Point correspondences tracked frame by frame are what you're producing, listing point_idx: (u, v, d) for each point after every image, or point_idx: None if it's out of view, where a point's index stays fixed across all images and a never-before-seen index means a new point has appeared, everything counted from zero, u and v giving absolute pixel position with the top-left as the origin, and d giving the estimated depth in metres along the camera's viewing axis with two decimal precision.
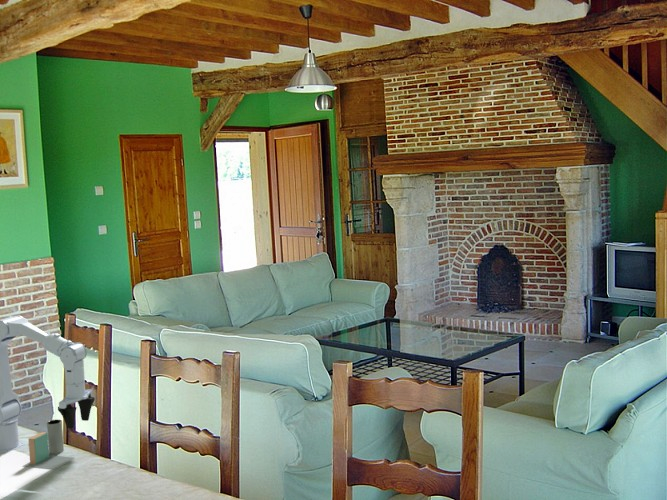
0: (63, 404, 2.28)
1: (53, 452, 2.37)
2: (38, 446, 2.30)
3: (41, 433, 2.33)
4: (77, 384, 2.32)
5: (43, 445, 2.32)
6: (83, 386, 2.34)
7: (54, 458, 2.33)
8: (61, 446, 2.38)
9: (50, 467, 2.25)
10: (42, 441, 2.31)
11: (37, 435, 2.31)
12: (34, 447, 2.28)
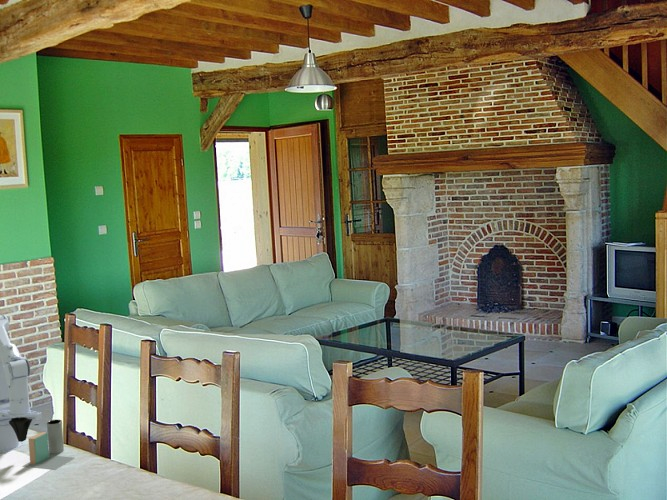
0: None
1: (53, 452, 2.37)
2: (38, 446, 2.30)
3: (41, 433, 2.33)
4: (9, 400, 2.30)
5: (43, 445, 2.32)
6: (12, 405, 2.29)
7: (54, 458, 2.33)
8: (61, 446, 2.38)
9: (50, 467, 2.25)
10: (42, 441, 2.31)
11: (37, 435, 2.31)
12: (34, 447, 2.28)
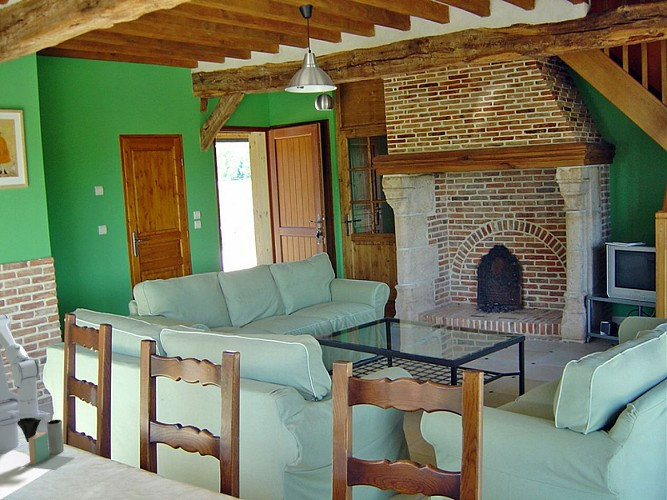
0: None
1: (53, 452, 2.37)
2: (38, 446, 2.30)
3: (41, 433, 2.33)
4: (18, 400, 2.29)
5: (43, 445, 2.32)
6: (21, 405, 2.28)
7: (54, 458, 2.33)
8: (61, 446, 2.38)
9: (50, 467, 2.25)
10: (42, 441, 2.31)
11: (37, 435, 2.31)
12: (34, 447, 2.28)
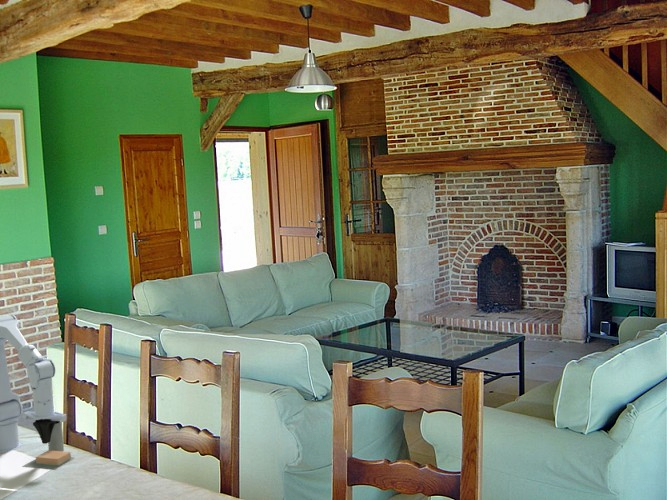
0: None
1: None
2: None
3: (68, 456, 2.31)
4: (33, 401, 2.27)
5: None
6: (37, 406, 2.26)
7: None
8: (61, 446, 2.38)
9: (50, 467, 2.25)
10: None
11: (64, 458, 2.29)
12: (50, 464, 2.27)
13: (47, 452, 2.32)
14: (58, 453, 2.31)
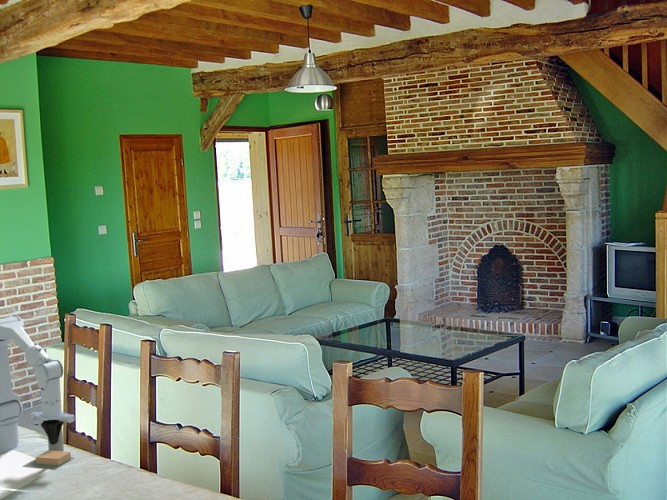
0: None
1: None
2: None
3: (68, 456, 2.31)
4: (41, 402, 2.27)
5: None
6: (45, 407, 2.26)
7: None
8: (61, 446, 2.38)
9: (50, 467, 2.25)
10: None
11: (64, 458, 2.29)
12: (50, 464, 2.27)
13: (47, 452, 2.32)
14: (58, 453, 2.31)
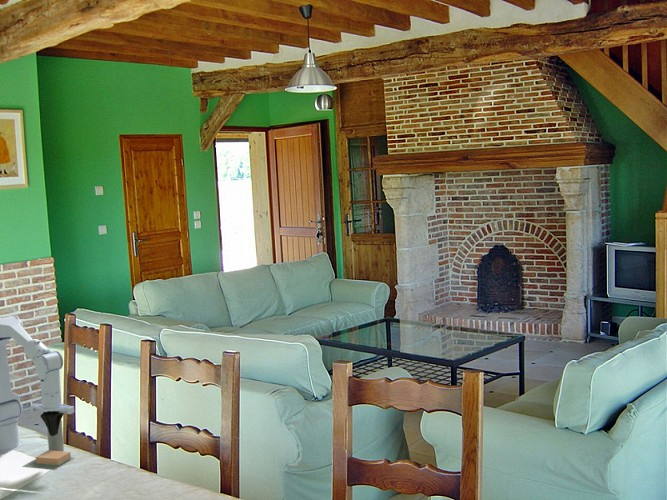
0: None
1: None
2: None
3: (68, 456, 2.31)
4: (41, 393, 2.26)
5: None
6: (44, 398, 2.25)
7: None
8: (61, 446, 2.38)
9: (50, 467, 2.25)
10: None
11: (64, 458, 2.29)
12: (50, 464, 2.27)
13: (47, 452, 2.32)
14: (58, 453, 2.31)
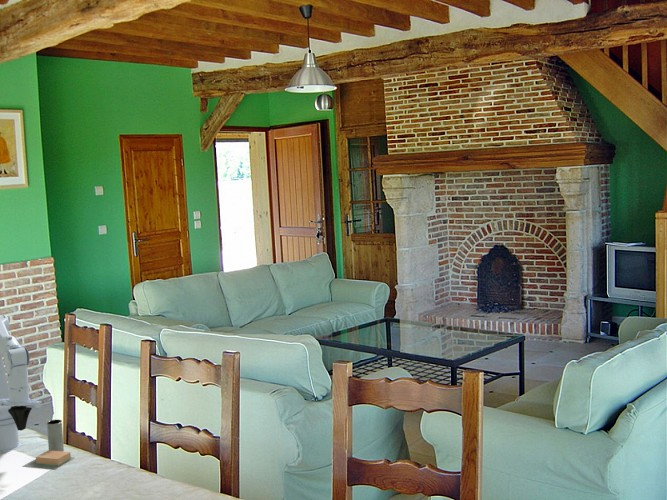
0: None
1: None
2: None
3: (68, 456, 2.31)
4: (8, 388, 2.29)
5: None
6: (12, 393, 2.27)
7: None
8: (61, 446, 2.38)
9: (50, 467, 2.25)
10: None
11: (64, 458, 2.29)
12: (50, 464, 2.27)
13: (47, 452, 2.32)
14: (58, 453, 2.31)
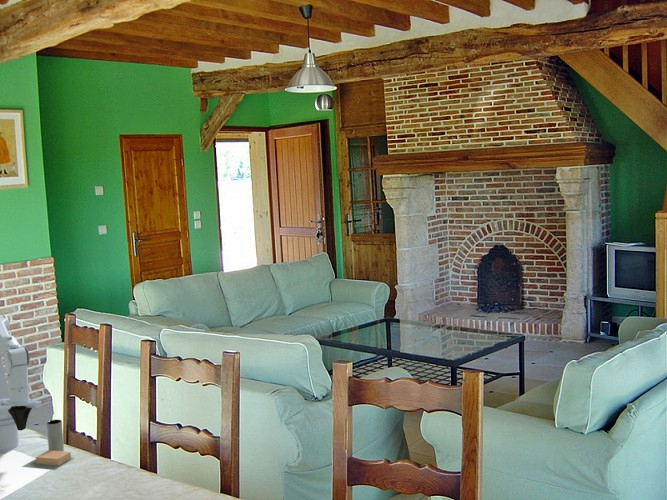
0: None
1: None
2: None
3: (68, 456, 2.31)
4: (8, 388, 2.29)
5: None
6: (12, 393, 2.27)
7: None
8: (61, 446, 2.38)
9: (50, 467, 2.25)
10: None
11: (64, 458, 2.29)
12: (50, 464, 2.27)
13: (47, 452, 2.32)
14: (58, 453, 2.31)
